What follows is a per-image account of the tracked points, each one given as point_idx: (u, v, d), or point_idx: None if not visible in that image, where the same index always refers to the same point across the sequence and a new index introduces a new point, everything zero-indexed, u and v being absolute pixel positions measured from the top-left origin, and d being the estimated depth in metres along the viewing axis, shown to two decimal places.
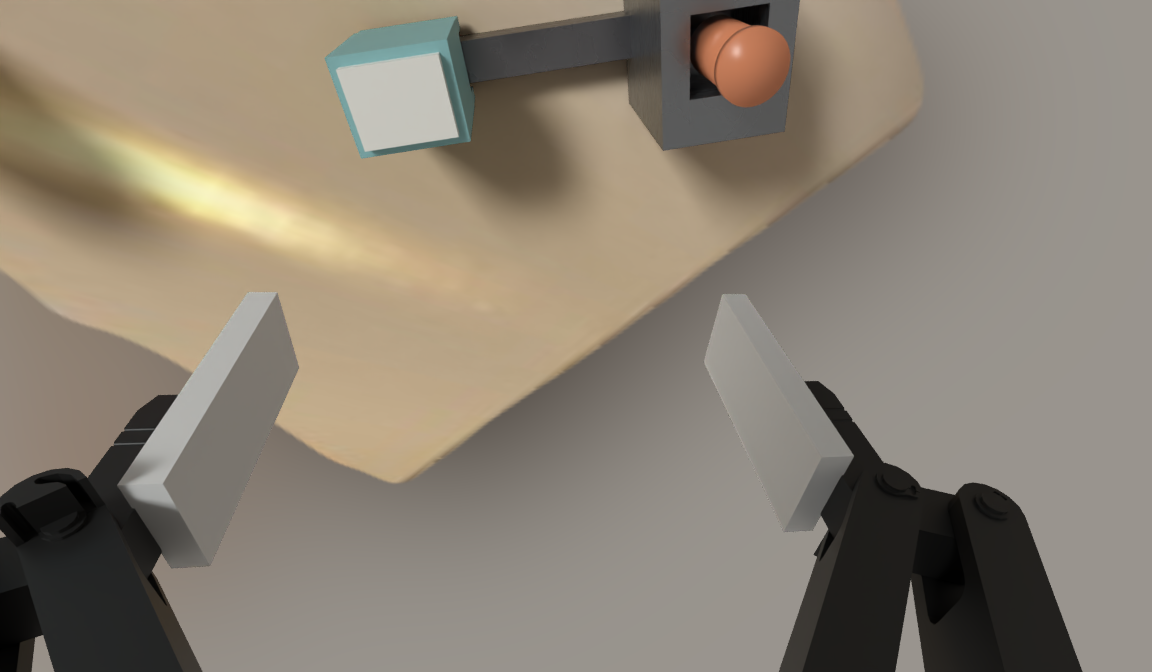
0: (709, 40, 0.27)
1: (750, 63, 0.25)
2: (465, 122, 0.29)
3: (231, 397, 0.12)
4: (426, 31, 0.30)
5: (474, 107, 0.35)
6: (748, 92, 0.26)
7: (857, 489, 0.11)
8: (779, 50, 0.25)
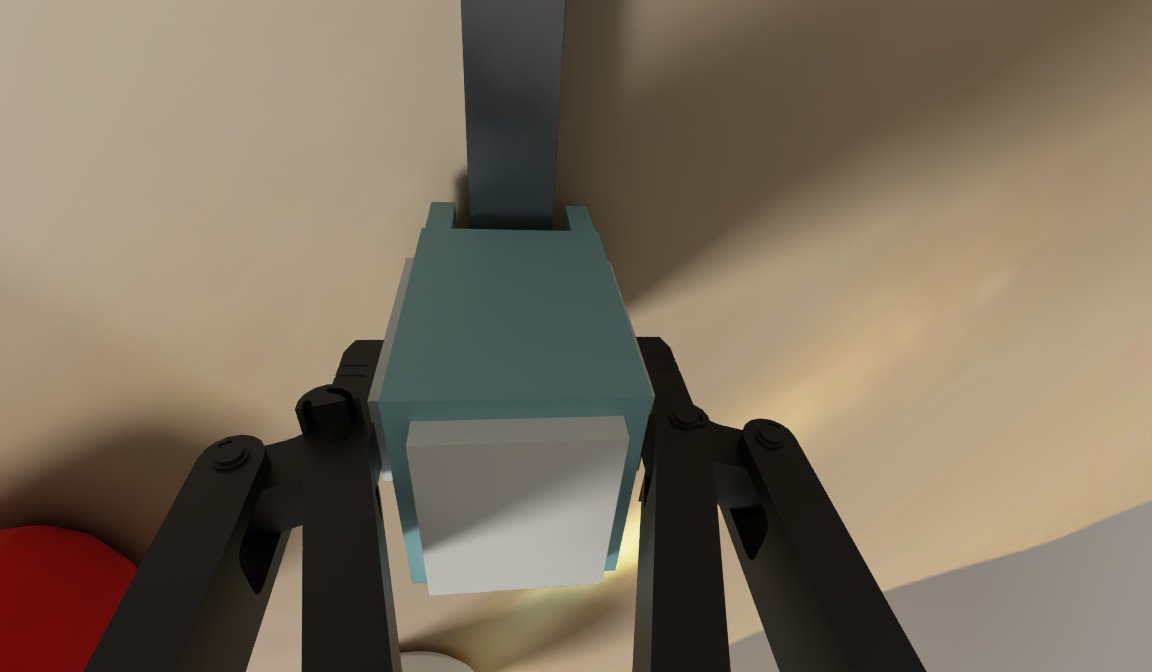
0: None
1: None
2: (600, 397, 0.10)
3: None
4: None
5: None
6: None
7: (657, 434, 0.12)
8: None
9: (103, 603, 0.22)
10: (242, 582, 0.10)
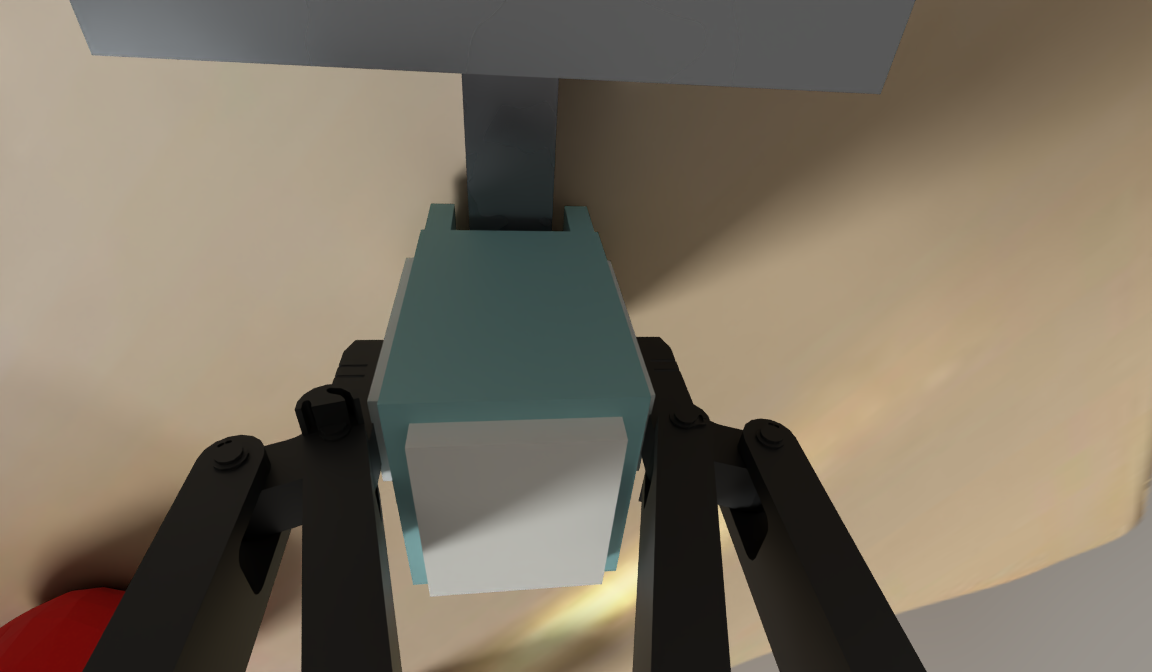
0: None
1: None
2: (598, 398, 0.10)
3: None
4: None
5: None
6: None
7: (658, 434, 0.12)
8: None
9: None
10: (242, 583, 0.10)
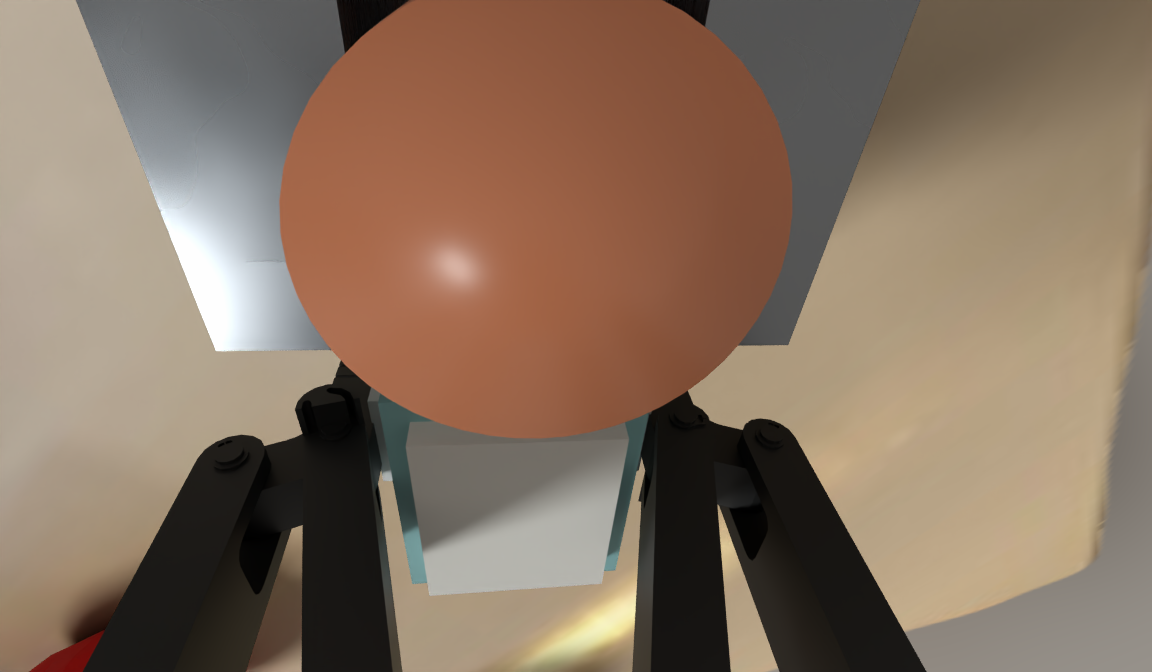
0: None
1: (511, 291, 0.04)
2: None
3: None
4: None
5: None
6: (688, 289, 0.04)
7: (657, 434, 0.12)
8: (445, 89, 0.03)
9: None
10: (242, 583, 0.10)
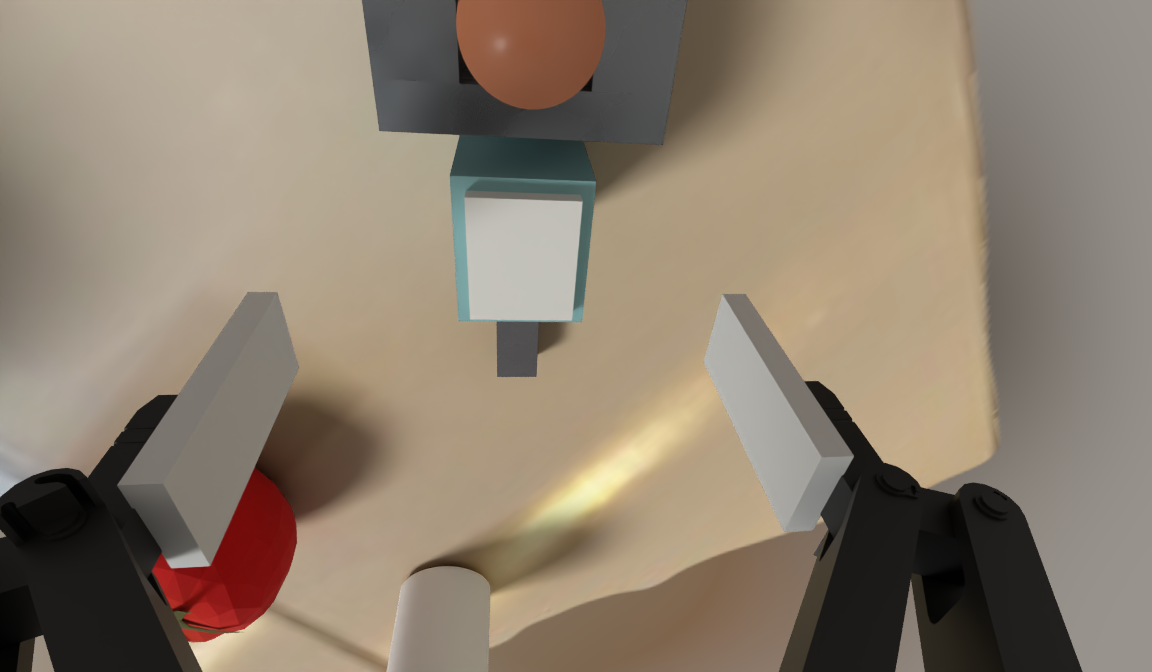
0: None
1: (520, 40, 0.13)
2: (567, 181, 0.19)
3: (231, 397, 0.12)
4: None
5: None
6: (576, 42, 0.13)
7: (857, 489, 0.11)
8: None
9: (268, 504, 0.37)
10: None
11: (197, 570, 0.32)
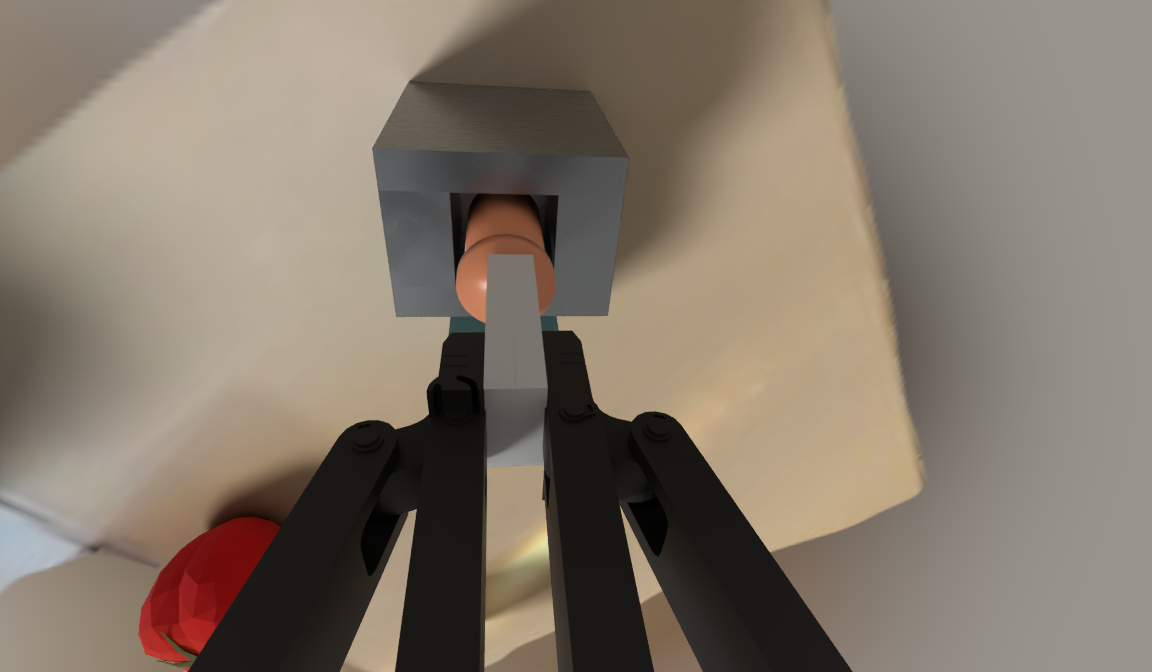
0: None
1: None
2: None
3: None
4: None
5: None
6: None
7: (550, 432, 0.12)
8: None
9: None
10: (359, 564, 0.10)
11: None
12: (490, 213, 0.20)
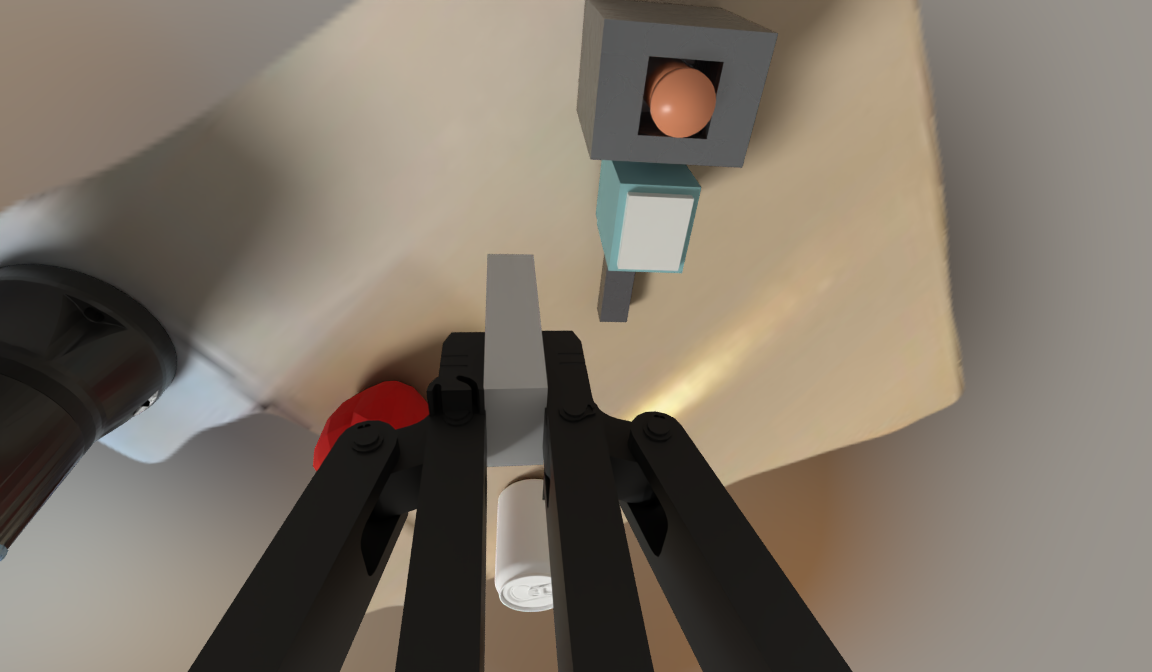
0: None
1: (678, 108, 0.29)
2: (685, 187, 0.33)
3: None
4: (610, 182, 0.36)
5: None
6: (702, 109, 0.29)
7: (549, 432, 0.12)
8: (676, 81, 0.28)
9: None
10: (360, 564, 0.10)
11: None
12: (667, 63, 0.30)
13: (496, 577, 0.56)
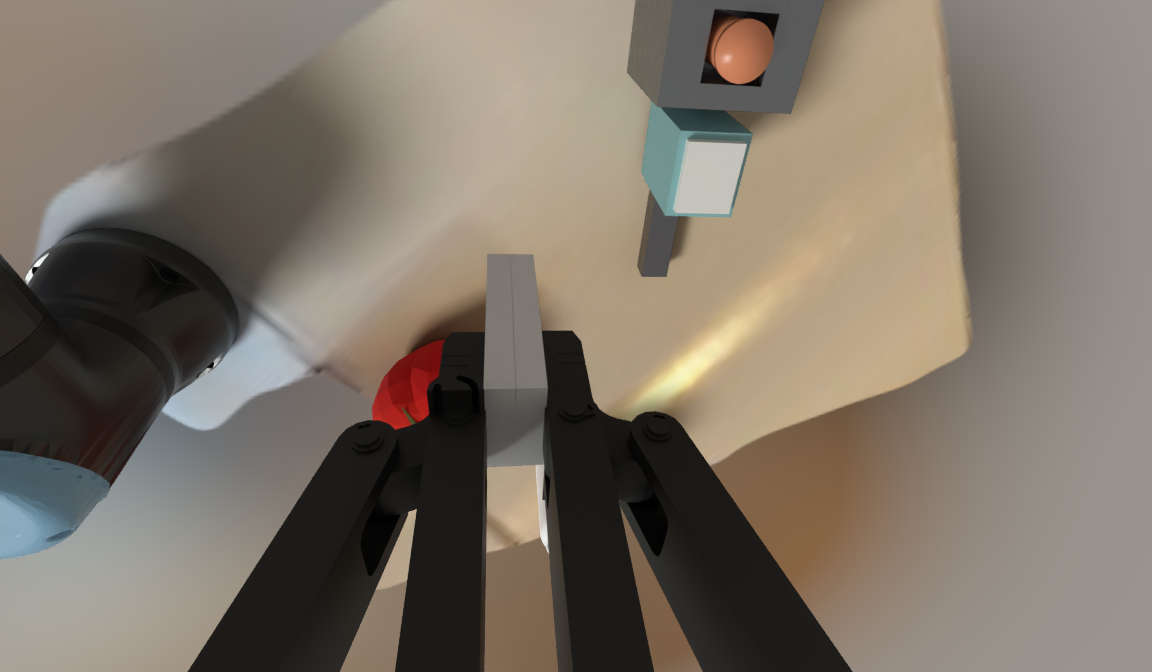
0: (710, 64, 0.35)
1: (740, 56, 0.32)
2: (738, 133, 0.37)
3: None
4: (664, 135, 0.40)
5: None
6: (760, 56, 0.32)
7: (549, 432, 0.12)
8: (740, 30, 0.31)
9: None
10: (360, 564, 0.10)
11: None
12: (725, 18, 0.34)
13: (542, 528, 0.59)
